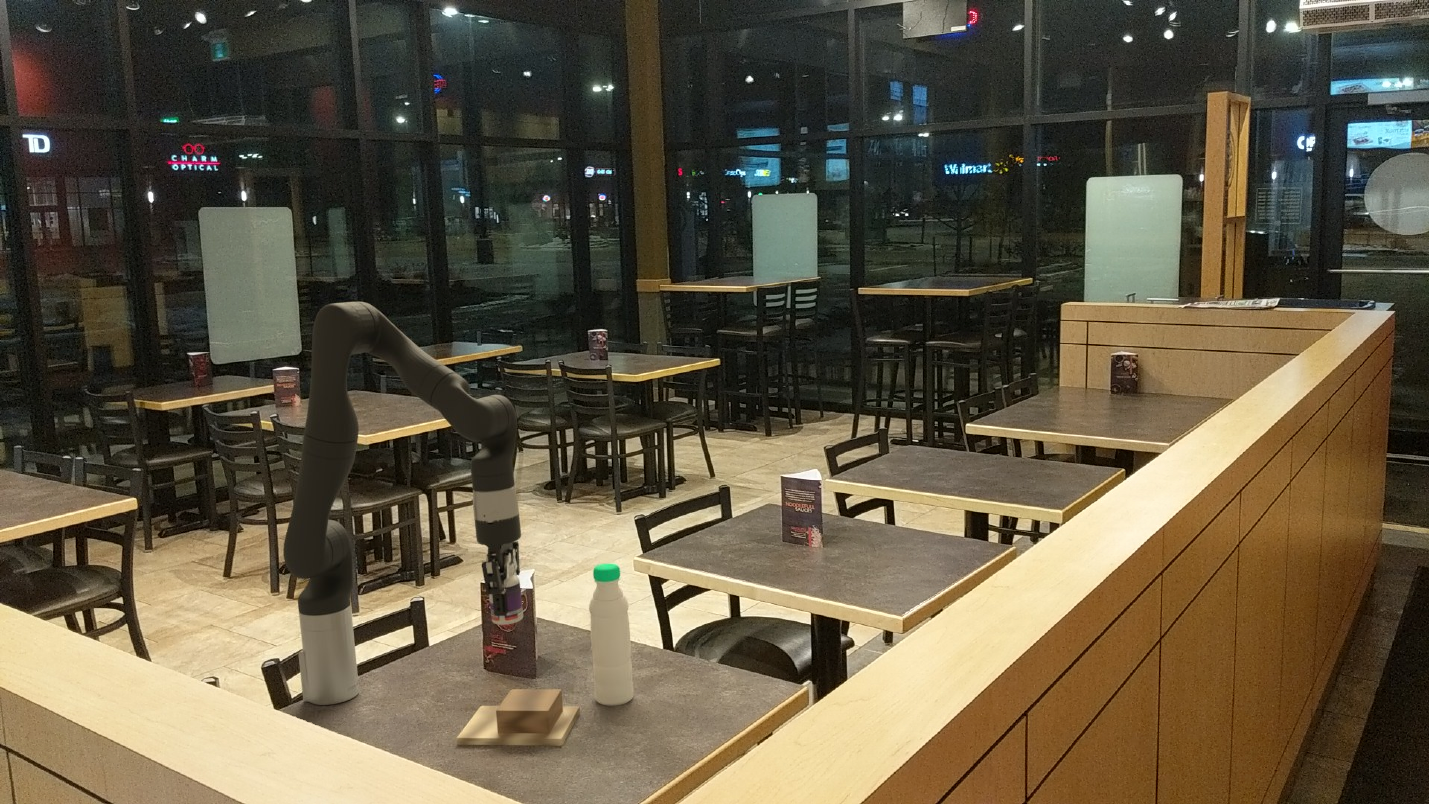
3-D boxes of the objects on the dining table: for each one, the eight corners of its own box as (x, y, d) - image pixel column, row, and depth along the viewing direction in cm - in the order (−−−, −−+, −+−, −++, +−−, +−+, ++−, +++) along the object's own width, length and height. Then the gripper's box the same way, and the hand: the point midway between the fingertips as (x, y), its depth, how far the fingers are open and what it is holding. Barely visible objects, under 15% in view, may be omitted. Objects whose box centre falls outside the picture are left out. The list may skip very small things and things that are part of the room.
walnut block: (497, 733, 195) (495, 710, 194) (513, 710, 203) (511, 689, 203) (549, 733, 193) (548, 710, 193) (562, 711, 202) (561, 689, 202)
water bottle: (587, 703, 208) (578, 569, 204) (608, 689, 214) (600, 558, 210) (620, 709, 205) (612, 573, 201) (641, 694, 211) (633, 562, 207)
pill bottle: (526, 614, 201) (521, 560, 200) (519, 624, 196) (513, 569, 194) (496, 615, 201) (491, 561, 200) (487, 626, 196) (482, 570, 195)
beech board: (457, 744, 194) (456, 737, 193) (481, 712, 206) (480, 705, 206) (561, 745, 191) (561, 738, 191) (579, 712, 204) (579, 706, 204)
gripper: (487, 504, 203) (497, 597, 206) (461, 525, 189) (472, 624, 192) (529, 502, 202) (538, 595, 205) (505, 523, 188) (516, 622, 191)
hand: (506, 608), depth 198 cm, fingers closed on pill bottle, 5 cm apart
